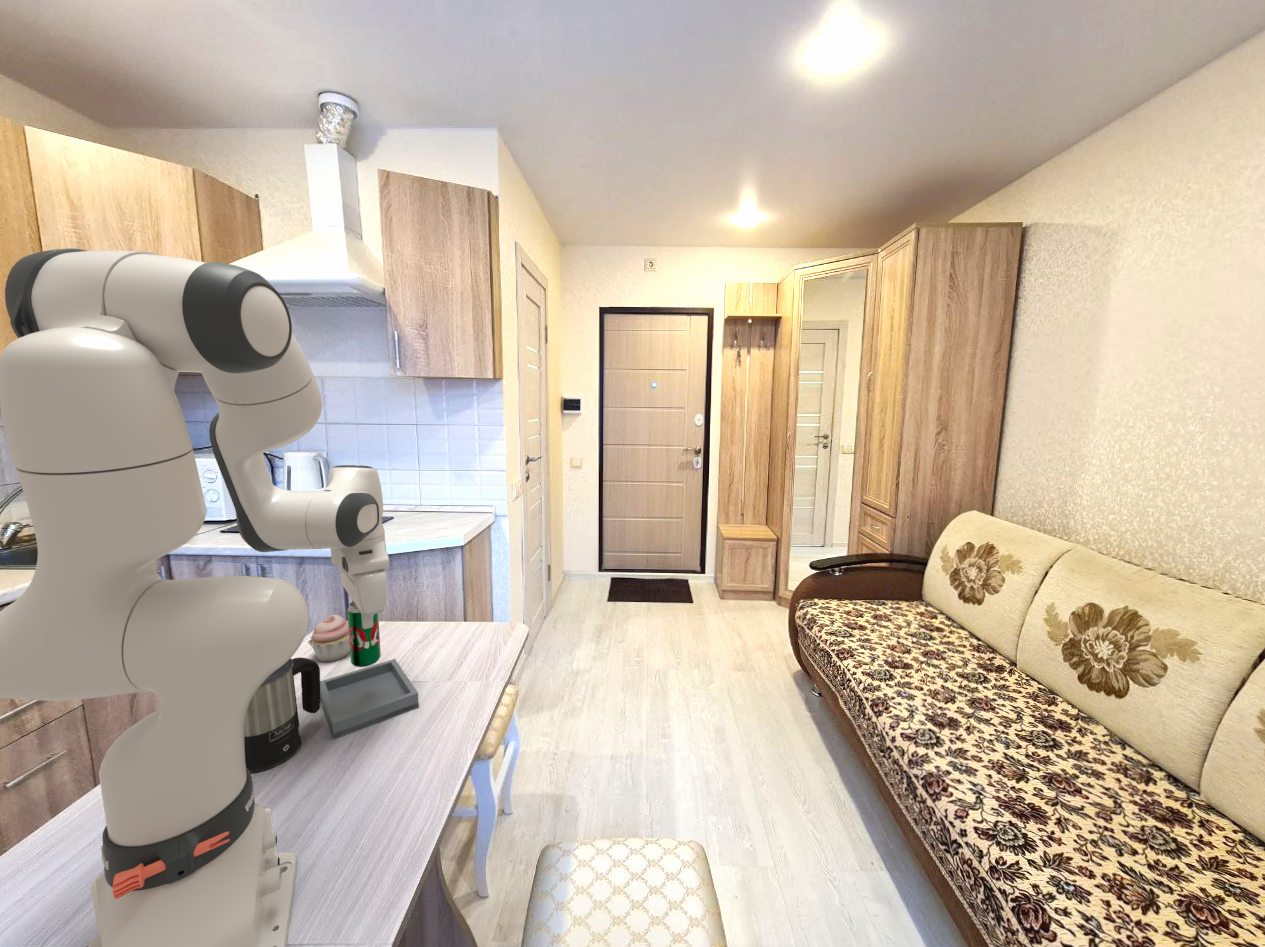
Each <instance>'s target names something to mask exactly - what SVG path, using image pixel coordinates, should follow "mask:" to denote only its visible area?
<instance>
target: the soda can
mask: <svg viewBox="0 0 1265 947" xmlns="http://www.w3.org/2000/svg"><path fill="white" fill-rule="evenodd" d="M346 612H347V621H348V629H349V643H350V652H349V655H350V664H351V665H353V666H354V667H357V668H366V667H369V666H373V665H375V664H376V663H377V662H378V661H379V659H381V658H382V657H381V656H382V654H381V653H382V652H381V638H380V637H381V636H380V619H379V613H378V614H374V617H373V627H371V628H367V629H363V628H362V626H361V612H360V611H359V609H358V608H357V606H356V605H355V603H354V602H353V601H352V600H351V602H350V603H349V605H348V608H347V610H346Z"/></svg>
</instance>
